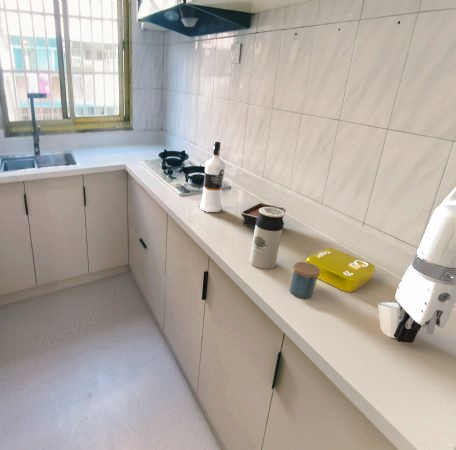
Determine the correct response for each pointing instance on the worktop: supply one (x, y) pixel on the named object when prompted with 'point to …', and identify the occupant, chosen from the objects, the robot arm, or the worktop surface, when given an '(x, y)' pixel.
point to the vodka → (213, 182)
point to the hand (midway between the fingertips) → (402, 339)
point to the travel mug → (267, 237)
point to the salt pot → (304, 280)
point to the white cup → (389, 317)
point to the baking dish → (255, 213)
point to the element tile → (341, 269)
